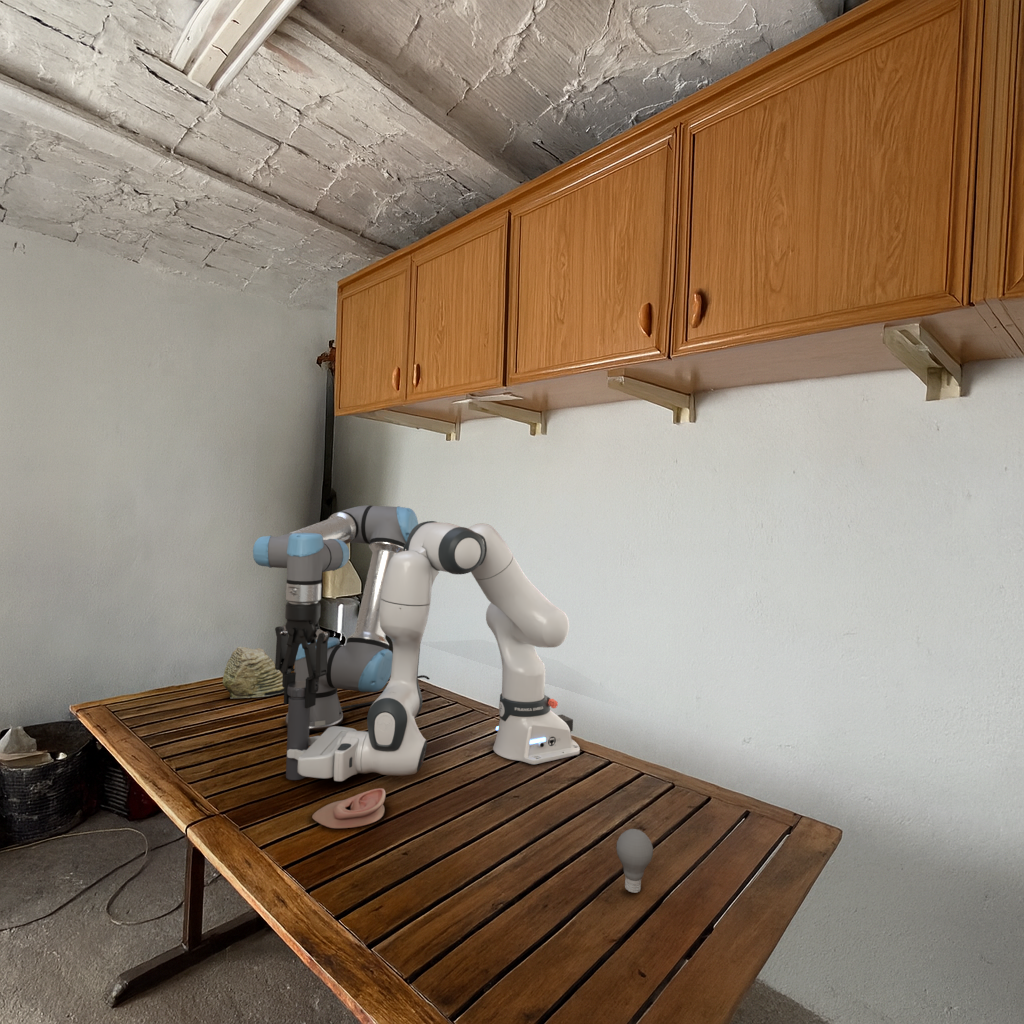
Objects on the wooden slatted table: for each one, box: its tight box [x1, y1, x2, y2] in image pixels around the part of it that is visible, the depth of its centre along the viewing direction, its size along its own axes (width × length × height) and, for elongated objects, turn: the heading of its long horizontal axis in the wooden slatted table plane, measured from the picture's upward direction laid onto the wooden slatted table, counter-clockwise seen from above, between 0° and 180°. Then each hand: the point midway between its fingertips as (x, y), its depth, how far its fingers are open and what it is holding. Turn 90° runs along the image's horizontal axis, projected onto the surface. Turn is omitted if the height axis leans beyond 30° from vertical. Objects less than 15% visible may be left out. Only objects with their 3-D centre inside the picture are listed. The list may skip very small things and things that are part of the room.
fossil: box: [222, 646, 284, 699], centre depth 198 cm, size 9×18×15 cm, turn 132°
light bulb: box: [615, 828, 654, 894], centre depth 106 cm, size 6×6×10 cm
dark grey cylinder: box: [285, 696, 310, 781], centre depth 143 cm, size 5×5×20 cm
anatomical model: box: [311, 787, 387, 829], centre depth 126 cm, size 13×4×12 cm
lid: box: [287, 681, 306, 697], centre depth 143 cm, size 5×5×2 cm
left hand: (299, 704), depth 143 cm, fingers closed on lid, 5 cm apart
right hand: (293, 747), depth 143 cm, fingers closed on dark grey cylinder, 5 cm apart
